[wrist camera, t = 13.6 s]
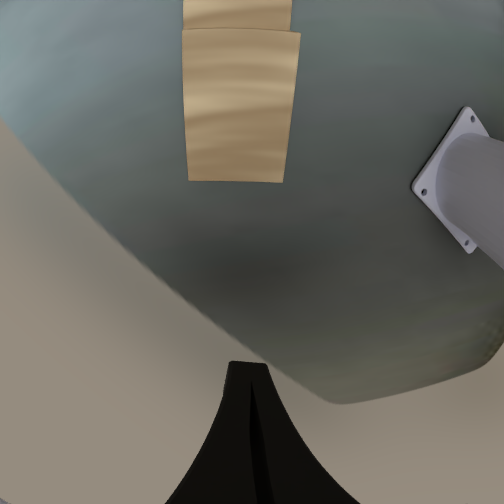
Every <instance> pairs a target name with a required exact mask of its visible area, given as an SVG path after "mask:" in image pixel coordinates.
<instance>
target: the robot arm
mask: <svg viewBox="0 0 504 504" xmlns="http://www.w3.org/2000/svg"><path fill="white" fill-rule="evenodd" d="M471 117H472V120H471ZM423 189H424V192H423V193H422V194H421V191H422V190H423ZM412 191H413V192H414V193H415V194H416V195H417V196H418V197H419V198H420V199H421V200H422V201H423V202H424V204H425V205H426V206H427V207H428V208H429V209H430V210H431V211H432V212H433V213H434V214H435V215H436V217H437V218H438V219H439V220H440V221H441V222H442V223H443V224H444V226H445V227H446V228H447V229H448V230H449V231H450V233H451V234H452V235H453V236H454V237H455V239H456V240H457V241H458V242H459V243H460V245H461V246H462V247H463V248H464V250H465V251H466V252H467V253H469V254H470V253H472V252H473V251H474V250H475V248H476V247H477V246H478V247H479V248H480V249H481V250H482V251H483V252H485V253H486V254H487V255H488V256H489V257H490V258H491V259H493V260H494V261H495V262H496V263H497V264H498V265H499V266H500V267H501V268H503V269H504V142H502V141H499V140H496V139H493V138H490V136H489V135H488V133H487V131H486V130H485V128H484V127H483V125H482V124H481V122H480V121H479V119H478V118H477V116H476V115H475V113H474V112H473V110H472V109H471V108H470V107H464V108H463V109H462V110H461V112H460V114H459V115H458V117H457V118H456V120H455V122H454V123H453V125H452V126H451V128H450V129H449V131H448V133H447V134H446V136H445V137H444V139H443V140H442V142H441V143H440V145H439V146H438V148H437V149H436V151H435V152H434V153H433V155H432V156H431V158H430V159H429V161H428V162H427V164H426V165H425V166H424V168H423V169H422V171H421V172H420V173H419V175H418V176H417V178H416V179H415V180H414V182H413V184H412ZM0 504H10V503H8V502H6V501H5V500H3V499H1V498H0ZM165 504H360V503H359V502H357V501H356V500H355V499H354V498H353V497H352V496H351V495H349V494H348V493H347V492H346V491H345V490H344V489H343V488H342V487H341V486H340V485H339V484H338V483H337V482H336V481H335V480H334V479H333V478H332V477H331V476H330V475H329V473H328V472H327V471H326V470H325V469H324V468H323V467H322V465H321V464H320V463H319V462H318V460H317V459H316V458H315V456H314V455H313V454H312V452H311V451H310V450H309V448H308V447H307V445H306V444H305V442H304V441H303V439H302V438H301V436H300V435H299V433H298V432H297V430H296V428H295V426H294V425H293V423H292V421H291V419H290V417H289V415H288V413H287V412H286V410H285V408H284V406H283V404H282V402H281V399H280V398H279V395H278V393H277V390H276V388H275V386H274V383H273V381H272V378H271V375H270V373H269V369H268V366H267V365H266V364H265V363H253V362H242V361H231V362H229V365H228V370H227V375H226V380H225V384H224V390H223V397H222V400H221V403H220V406H219V409H218V412H217V414H216V417H215V419H214V421H213V424H212V426H211V429H210V431H209V433H208V435H207V437H206V439H205V441H204V443H203V445H202V447H201V449H200V451H199V453H198V454H197V456H196V458H195V460H194V461H193V463H192V465H191V467H190V468H189V470H188V471H187V473H186V475H185V476H184V478H183V479H182V481H181V482H180V484H179V485H178V487H177V488H176V489H175V491H174V492H173V494H172V495H171V496H170V498H169V499H168V500H167V502H166V503H165Z"/></svg>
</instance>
